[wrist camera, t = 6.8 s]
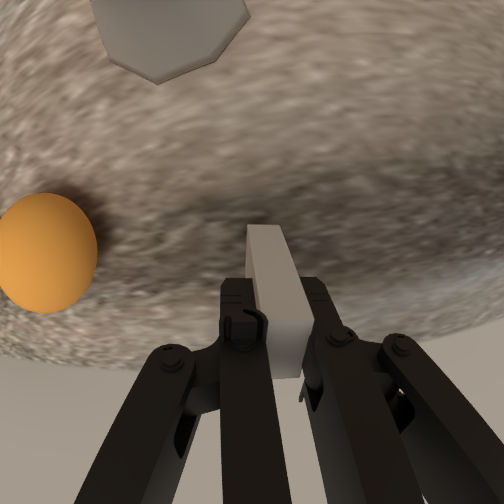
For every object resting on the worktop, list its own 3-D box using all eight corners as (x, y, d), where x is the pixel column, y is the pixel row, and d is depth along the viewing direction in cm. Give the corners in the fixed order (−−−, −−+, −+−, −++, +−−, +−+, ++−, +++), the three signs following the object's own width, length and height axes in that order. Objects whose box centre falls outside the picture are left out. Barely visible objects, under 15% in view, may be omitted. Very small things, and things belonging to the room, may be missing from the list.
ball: (7, 188, 12) (97, 174, 14) (27, 278, 15) (109, 269, 17) (-42, 227, 7) (76, 208, 9) (0, 340, 10) (103, 334, 12)
